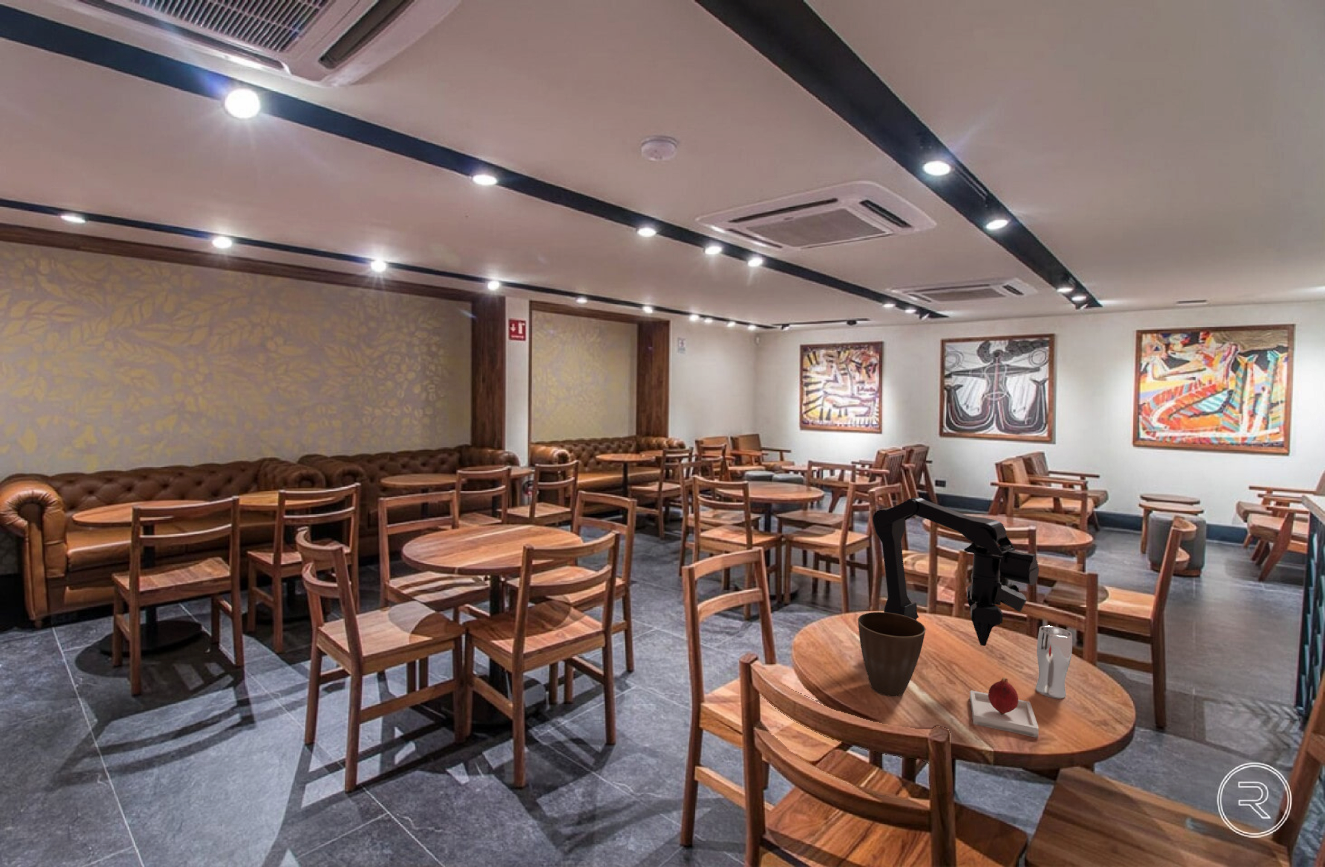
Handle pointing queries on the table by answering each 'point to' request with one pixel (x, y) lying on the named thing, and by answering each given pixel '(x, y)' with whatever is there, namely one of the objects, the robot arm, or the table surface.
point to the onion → (1003, 696)
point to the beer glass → (1053, 660)
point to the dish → (1003, 716)
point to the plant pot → (890, 650)
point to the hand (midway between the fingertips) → (981, 638)
